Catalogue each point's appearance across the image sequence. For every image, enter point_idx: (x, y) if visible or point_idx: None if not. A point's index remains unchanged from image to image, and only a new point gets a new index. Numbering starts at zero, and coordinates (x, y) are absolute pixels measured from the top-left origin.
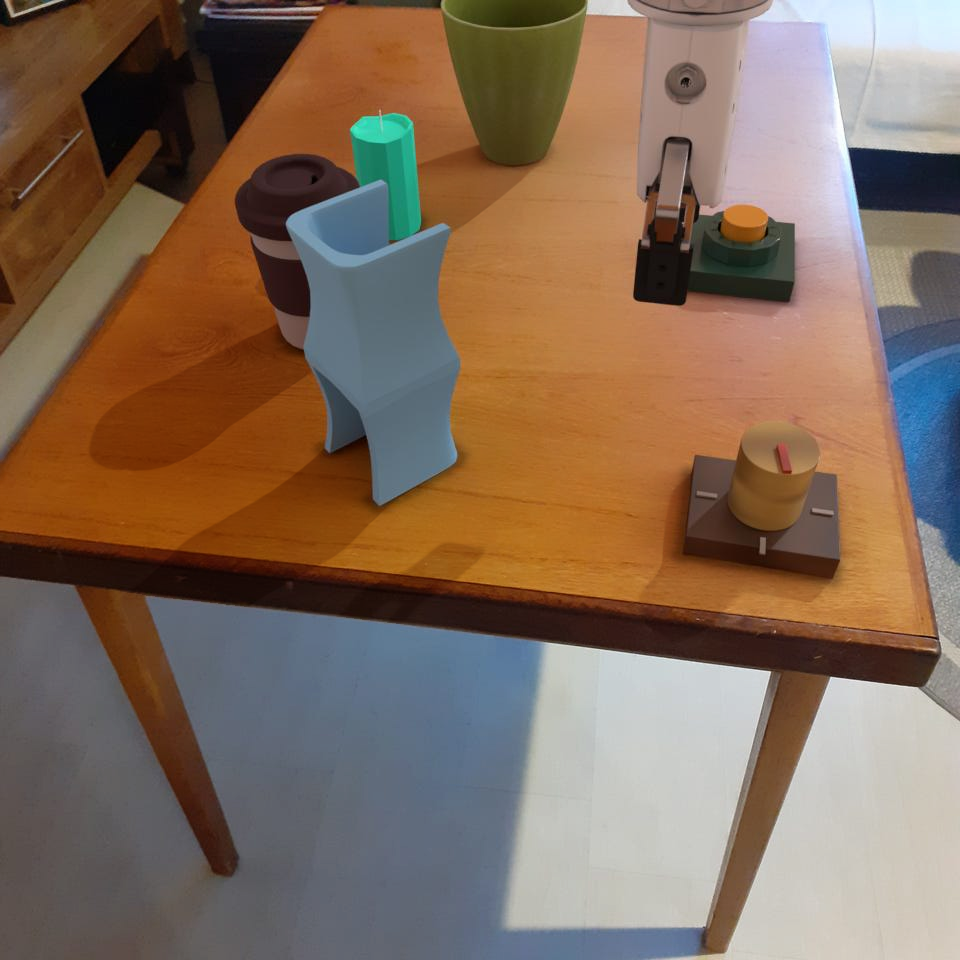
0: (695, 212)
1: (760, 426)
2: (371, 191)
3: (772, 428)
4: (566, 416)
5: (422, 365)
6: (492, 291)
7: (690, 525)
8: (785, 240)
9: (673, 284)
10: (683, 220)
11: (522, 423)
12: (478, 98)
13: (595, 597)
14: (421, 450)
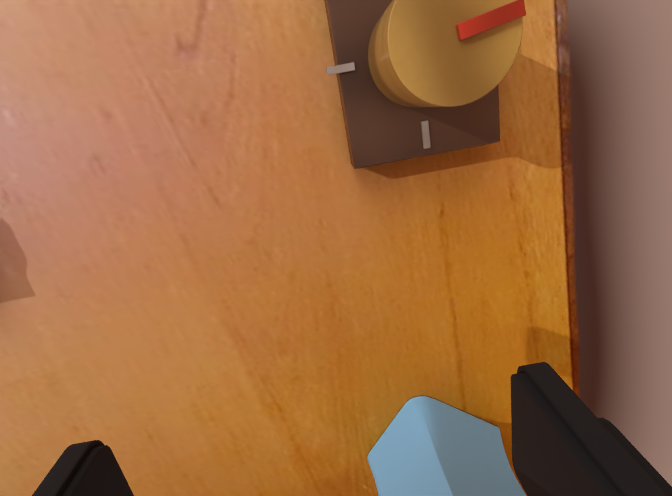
0: (87, 475)
1: (413, 81)
2: None
3: (412, 58)
4: (311, 325)
5: None
6: (134, 471)
7: (481, 141)
8: None
9: (634, 452)
10: (117, 471)
11: (341, 362)
12: None
13: (564, 210)
14: (464, 440)
